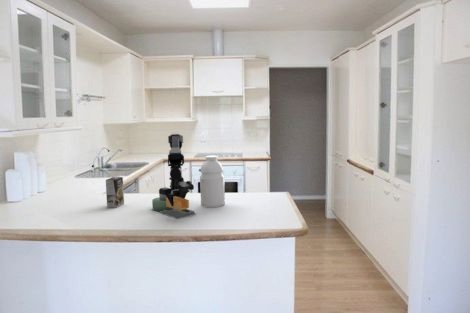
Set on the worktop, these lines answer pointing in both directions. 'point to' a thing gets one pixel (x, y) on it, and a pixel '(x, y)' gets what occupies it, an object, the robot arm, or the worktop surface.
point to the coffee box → (114, 192)
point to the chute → (178, 203)
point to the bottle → (212, 183)
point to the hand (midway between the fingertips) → (177, 204)
